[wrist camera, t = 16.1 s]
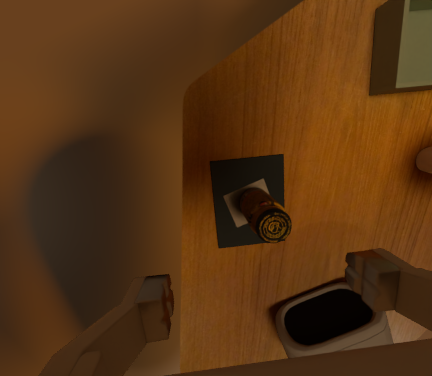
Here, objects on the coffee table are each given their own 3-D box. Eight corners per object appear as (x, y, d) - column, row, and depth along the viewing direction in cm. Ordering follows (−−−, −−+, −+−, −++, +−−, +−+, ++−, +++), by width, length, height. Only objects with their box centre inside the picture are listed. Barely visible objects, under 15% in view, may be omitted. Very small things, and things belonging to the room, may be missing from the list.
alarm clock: (350, 272, 47) (406, 323, 34) (359, 303, 49) (416, 362, 36) (266, 305, 48) (291, 368, 35) (279, 335, 50) (306, 404, 37)
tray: (375, 9, 35) (406, -14, 30) (446, 4, 35) (488, -20, 30) (369, 95, 38) (395, 88, 33) (433, 89, 39) (470, 81, 33)
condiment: (275, 210, 41) (304, 238, 30) (236, 227, 42) (250, 261, 30) (263, 178, 40) (288, 194, 28) (222, 195, 40) (231, 219, 28)
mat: (209, 161, 39) (210, 161, 38) (282, 154, 40) (283, 154, 39) (218, 246, 43) (218, 248, 43) (283, 238, 44) (284, 240, 43)
